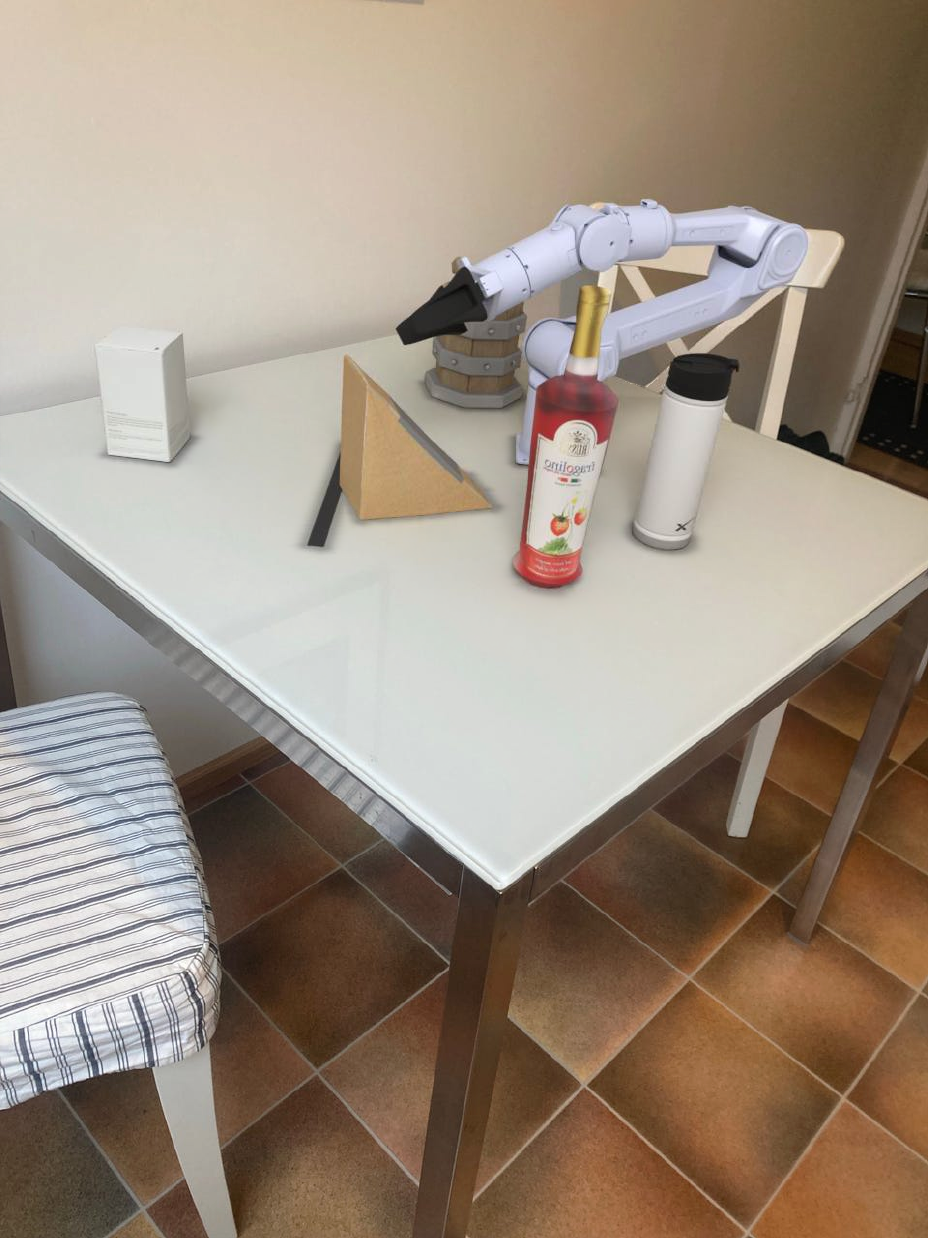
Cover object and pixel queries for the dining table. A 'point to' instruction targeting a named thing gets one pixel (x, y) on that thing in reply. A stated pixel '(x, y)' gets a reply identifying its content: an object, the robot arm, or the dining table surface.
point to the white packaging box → (143, 392)
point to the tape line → (327, 509)
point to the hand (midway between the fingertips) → (406, 331)
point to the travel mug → (682, 448)
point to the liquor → (567, 453)
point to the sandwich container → (394, 458)
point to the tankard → (479, 361)
